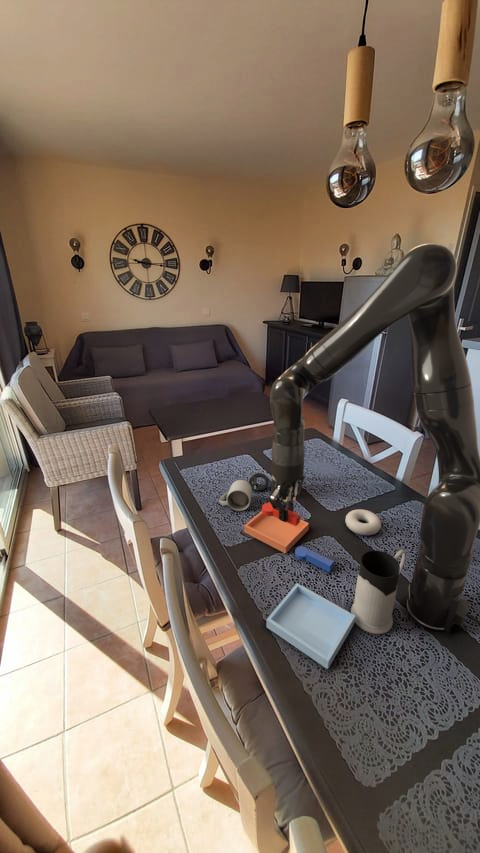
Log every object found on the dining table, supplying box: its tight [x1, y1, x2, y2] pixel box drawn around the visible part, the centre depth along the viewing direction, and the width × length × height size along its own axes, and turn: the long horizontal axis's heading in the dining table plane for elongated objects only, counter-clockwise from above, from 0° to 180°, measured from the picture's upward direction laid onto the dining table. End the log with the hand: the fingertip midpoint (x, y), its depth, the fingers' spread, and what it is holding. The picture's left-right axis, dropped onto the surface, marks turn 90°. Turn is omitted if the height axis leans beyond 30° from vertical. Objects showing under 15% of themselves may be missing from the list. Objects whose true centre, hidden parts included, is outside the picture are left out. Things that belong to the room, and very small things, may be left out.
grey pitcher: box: [350, 549, 407, 635], centre depth 78 cm, size 9×14×15 cm, turn 126°
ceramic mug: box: [218, 479, 253, 512], centre depth 117 cm, size 11×8×8 cm
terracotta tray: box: [243, 510, 310, 554], centre depth 105 cm, size 14×12×2 cm
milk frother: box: [247, 452, 276, 494], centre depth 123 cm, size 14×16×15 cm
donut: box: [344, 508, 382, 536], centre depth 106 cm, size 10×3×10 cm
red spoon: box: [261, 502, 301, 526], centre depth 91 cm, size 10×4×2 cm, turn 51°
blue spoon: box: [294, 546, 335, 573], centre depth 94 cm, size 10×4×2 cm, turn 51°
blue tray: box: [266, 582, 356, 670], centre depth 77 cm, size 14×12×2 cm
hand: (285, 517), depth 91 cm, fingers closed on red spoon, 2 cm apart
